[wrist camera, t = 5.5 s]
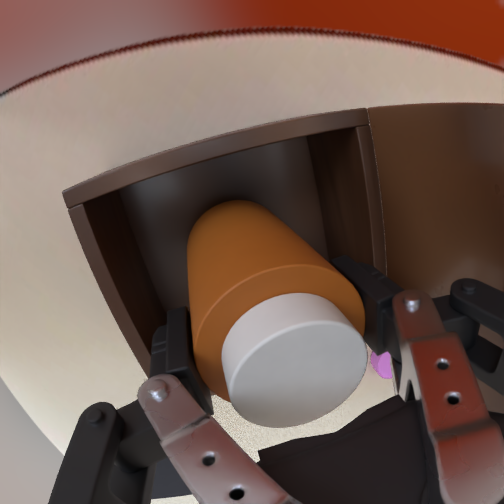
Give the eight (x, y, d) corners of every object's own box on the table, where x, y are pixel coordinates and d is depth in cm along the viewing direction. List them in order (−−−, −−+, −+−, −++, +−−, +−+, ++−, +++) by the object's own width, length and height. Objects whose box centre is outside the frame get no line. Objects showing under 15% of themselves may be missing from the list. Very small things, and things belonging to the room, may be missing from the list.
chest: (167, 335, 22) (166, 407, 16) (103, 172, 18) (60, 191, 11) (337, 281, 24) (387, 333, 17) (308, 115, 19) (367, 107, 12)
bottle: (204, 305, 18) (232, 460, 9) (173, 217, 16) (162, 337, 6) (293, 277, 19) (387, 402, 9) (274, 187, 17) (393, 260, 7)
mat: (144, 497, 31) (144, 499, 30) (96, 455, 26) (95, 458, 26) (226, 485, 32) (227, 488, 32) (192, 441, 27) (192, 445, 27)
